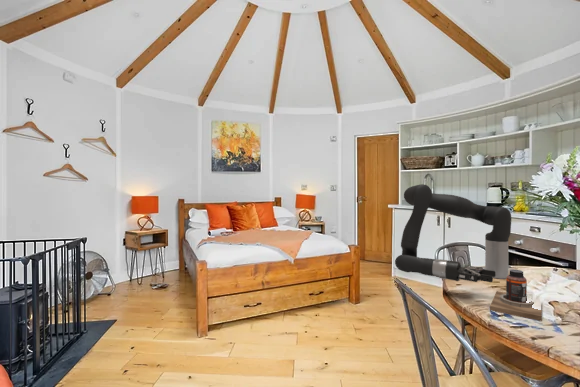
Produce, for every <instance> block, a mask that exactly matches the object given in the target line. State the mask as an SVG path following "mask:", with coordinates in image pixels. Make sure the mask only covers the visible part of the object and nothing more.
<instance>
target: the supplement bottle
mask: <svg viewBox="0 0 580 387" xmlns="http://www.w3.org/2000/svg"><path fill="white" fill-rule="evenodd" d="M505 279H506V280H505V282H506V283H505V284H506V285H505V290H506V291H505V292H506V299H507V300H510V301H513V302H518V303H526V301H527V296H528V295H527V290H528V289H527V288H528V287H527V286H528V285H527V284H528V283H527V280H528V279H527V278H526V277H524V271H523V270H520V269H509V274H508V276H507V277H506V278H505Z"/></svg>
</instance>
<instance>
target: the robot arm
mask: <svg viewBox="0 0 580 387" xmlns="http://www.w3.org/2000/svg"><path fill="white" fill-rule="evenodd" d="M403 198H404V200H405V201H406V203H407V204H408V205H411V206H413V207H412V212H411V213H410V216H409V219H408V221H407V222H406V224H405V226H404V229H403V232H402V236H401V241H400V248H401V254H400V255H398V256H396V258H395V261H394V264H395V267H396V269H398V270H399V271H401V272H405V273H417V274H421V275H424V276H429V277H435V278H439V279H442V280H443V279H444V280H450V281H456V282H459V281H460V280H462V281H463V280H464V281H467V282H469V281H470V282H474V283H478V282H487V283H493V281H494V279H501V280H502V279H506V277H507V276H508V275H509V239H510V236H511V232H512V231H511V230H512V214H511V211H510V210H509V209H508V208H506V207H505V206H504V207H502V206H493V205H492V206H487V205H482V204H477V203H475V202H473V201H472V200H470V199H467V198H466V197H462V196H459V195H455V194H454V195H453V194H447V193H446V194H445V193H433V191H432V189H431V187H430V186H428V185H427V184H423V183H422V184H416V185H412V186H409V187H408V188H406V190H404V193H403ZM428 209H432V210H435V211H437V212H441V213H444V214H447V215H452V216H455V217H458V218H463V219H472V220H475V221H478V222H480V223H483V224H486V225H488V226H492V230H491V231H490V232H487V233H485V240H484V241H485V243H484V244H485V246H484V247H485V250H484V252H485V253H484V254H485V256H484V261H485V262H484V263H485V265H484V268H483V267H482V266H481V267H480V266H473V265H465V267H462V265H461V262H460V261H456V260H448V259H440V258H439V259H437V258H436V259H435V258H429V257H428V258H427V257H419V256H418V247H419V241H420V235H421V231H422V227H423V223H424V220H425V219H426V218H425V217H426V215H427V213H428V212H427V211H428Z"/></svg>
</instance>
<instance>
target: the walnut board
mask: <svg viewBox="0 0 580 387" xmlns="http://www.w3.org/2000/svg"><path fill="white" fill-rule="evenodd" d="M533 304H534V302H532V301H531V302H529V303H518V302H513V301H510V300H507V299H506V291H505V292H504V291H499V290H496V291H495V293H494V296H493V298H492V301H491V303H490V305H489V311H491V310H492V312H497V313H501V314H502V313H503V314H507V315H510V316H511V315H512V316H515V317H522V318H527V319H531V320H536V321H541V322H542V320H543V319H542V316H543V315H542V311H543V309H542V310H538V309H534V308H532V305H533Z"/></svg>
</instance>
